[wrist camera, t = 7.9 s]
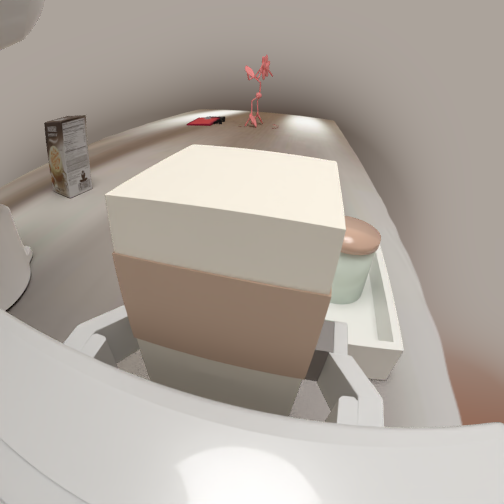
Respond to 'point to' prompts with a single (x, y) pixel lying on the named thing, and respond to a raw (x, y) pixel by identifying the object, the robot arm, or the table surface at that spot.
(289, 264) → the juice carton
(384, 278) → the tray
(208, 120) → the red board with handle
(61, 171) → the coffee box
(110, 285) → the table surface
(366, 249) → the lidded jar
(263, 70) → the figurine
